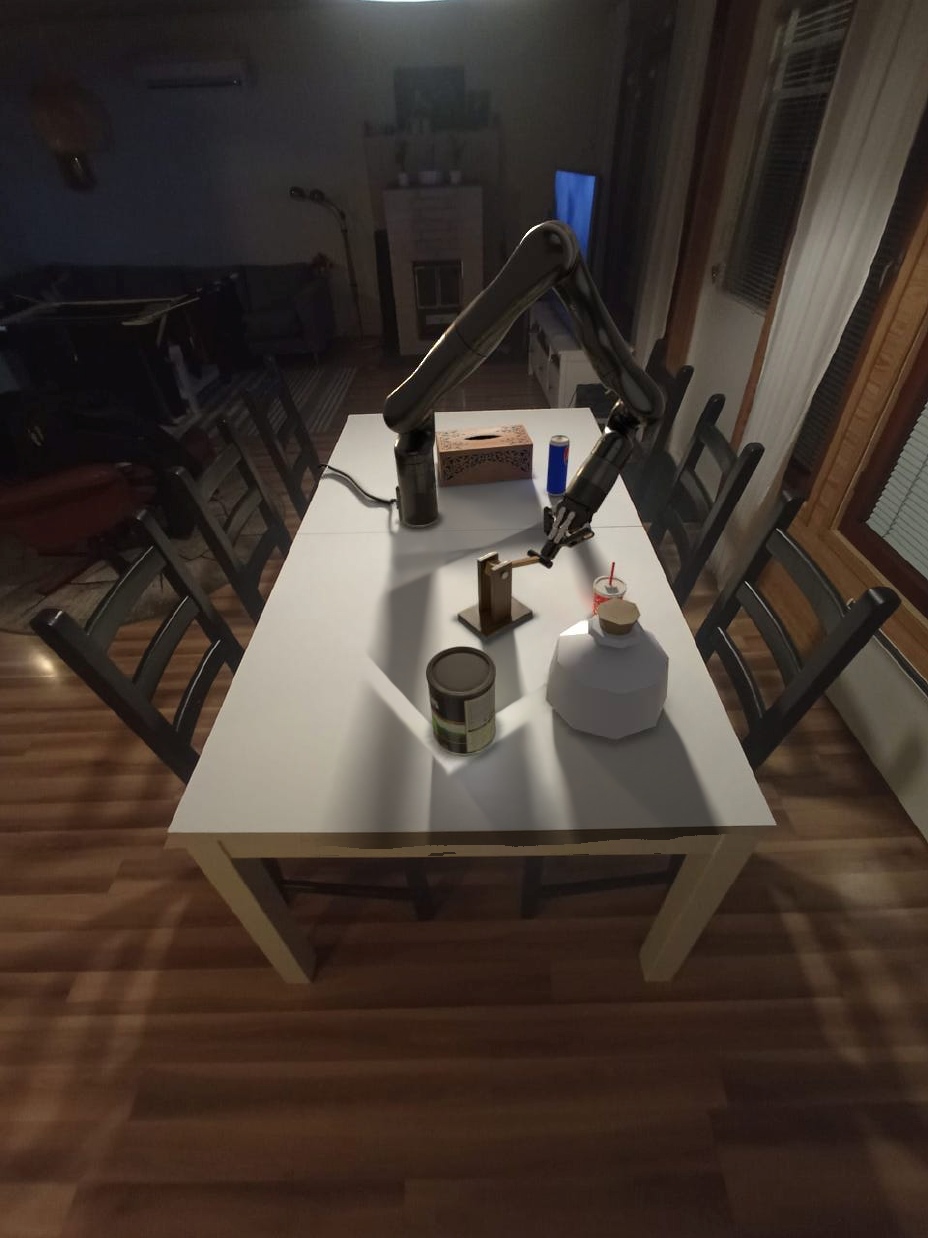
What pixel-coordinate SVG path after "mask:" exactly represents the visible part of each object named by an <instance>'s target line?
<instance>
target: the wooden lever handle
mask: <svg viewBox="0 0 928 1238" xmlns="http://www.w3.org/2000/svg"><path fill="white" fill-rule="evenodd" d="M540 554H541V553H539V552H537V551H536V550H534V549H533V548H531V549H528V550H527V552H526V555H527V557H525V558H520V559H515V560H511V561H512V569H516V568H521V567H525V566H531V565H536V564H540V565H541V566H542V567H545V568H546V569H548V570H550V569H552V567H553V566H554V562H553V560H551V561H550V560H548V559H547V558H545V557H544V556H542V555H540ZM501 563H503V561H502V560H500V559H499V558H498V559H496V560H491V561H487V562H486V567H485V572H484V573H486V574H487V575H488V576H490V577H491V568H493V567H495V566H497V565H499V564H501Z"/></svg>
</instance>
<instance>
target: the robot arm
mask: <svg viewBox="0 0 928 1238" xmlns="http://www.w3.org/2000/svg"><path fill="white" fill-rule="evenodd" d="M550 289H551V290H553V291H554V293H555V294H556V295H557V297H558V299H560V301H561V303H562V304H563V306H564V307H565V309H566V311H567V314H568V315H569V317H570V320H571V323H572V325H573V328H574V330H575V334H576V336H577V339H578V342H579V345H580V347H581V350H582V352H583V354H584V356H585V358H586V360H587V361H588V364H589V365H590V367H591V369H592V370H593V372H594V374H595V375H596V377H597V379H598V380H599V382H600V383H601V385H602V386H603V387H604V388H605V389H607V390H610V391H612V392H614V393H615V394H616V395H617V397H618V400H617V401H616V402H615V404H614V405H613V407H612V409H611V411H610V414H609V415H608V418H607V420H606V423H605V426H604V428H603V432H602V434H601V436H600V437H599V438H598V440H596V444H595V445H594V446H593V448H592V450H591V451H590V453H589V454H588V455H587V457H586V458H585V460H584V461H582V463H581V465H580V466H579V469H578V470H577V471H576V473H575V474H574V476H573V477H572V479H571V481H570V482H569V484H568V486H566V491H565V492H564V494H563V496H562V499H561V500H559V501H558V502H557V503H556V505H555V506H551V507H549V506H548V505H546V506H544V507H543V509H542V510H543V533H544V534H545V535H546V537H547V540H546V542H545V543H544V545H543V547H542V548H541V550H540V553H539V554H540V555H542V556H544V557H545V558H547V559H548V560H550V561H553V560H555V558H556V557H557V555H558V553H559V552H560V550H561V549H562V548H563V547H564V548H565V547H566V548H569V549H571V548H573V547H576V546H578V545H579V544H582V543H584V542H586V541H588V540H591V539H592V538H594V537H595V534H596V533H595V532H594V531H593V529H592V527H591V524H592V522H593V518H594V517H593V516H594V515H595V514H596V513H598V511H599V509H600V508H601V506H602V505H603V503H604V502H605V500H606V499H607V497H608V496H609V494H610V492H611V491H612V489H613V487H614V486H615V484H616V482H617V480H618V478H619V476H620V474H621V472H623V469H624V468H625V466H626V464H627V463H628V461H629V460H630V458H631V456H632V454H633V453H634V449H635V445H634V442H633V440H634V439H635V436H636V434H637V433H638V431H639V429H641V428H648V427H652V426H654V425H656V424H657V423H659V422H660V420H662V418H663V416H664V414H665V411H666V403H665V397H664V395H663V392H662V391H661V389H660V387H659V386H658V385H657V384H656V382H655V380H653V379H652V377H651V376H650V375H649V374H648V373H647V372H646V370H645V369H644V368H643V367H642V366H641V365H640V364H639V363H638V362H637V361H636V359H635V356H634V355H633V353H632V352H631V350H630V348H629V346H628V344H627V343H626V341H625V339H624V337H623V336H622V334H621V332H620V330H619V329H618V327H617V326H616V323H615V321H614V320H613V318H612V316H611V315H610V312H609V311H608V309H607V307H606V305H605V303H604V301H603V299H602V298H601V296H600V293H599V291H598V289H597V287H596V285H595V283H594V280H593V277H592V275H591V273H590V271H589V268H588V264H587V262H586V260H585V257H584V254H583V251H582V248H581V246H580V243H579V240H578V238H577V235H576V233H575V231H574V230H573V228H572V227H571V226H570V225H569V224H567V223H566V222H564V221H561V220H559V219H558V220H557V219H556V220H555V219H552V220H548V221H545V222H543V223H540V224H538V225H536V226H534V227H532V228H531V229H530V230H529V231H528V232H527V233H526V234H525V236H524V237H523V238H522V239H521V241H520V243H519V244H518V246H517V247H516V249H515V250H514V252H513V253H512V254H511V256H510V257H509V259H508V260H507V262H506V263H505V265H504V266H503V267H502V269H500V271H499V273H498V274H497V276H496V277H495V278H494V279H493V280H492V281H491V283H490V284H489V285H488V286H487V287H486V288H485V289H483V291H481V292H480V294H478V295H477V296H476V297H475V298H474V299H473V300H472V301H471V302H470V303H468V305H467V306H466V307H464V309H463V311H461V312H460V313H459V314H458V315H457V316H456V317H455V319H454V320H453V321H452V322H451V323H450V324H449V326H448V327H447V328H446V329H445V330H444V332H443V333H442V334H441V335H440V337H439V338H438V340H437V341H436V342H435V343H434V345H433V346H432V348H431V349H430V350H429V352H428V353H427V354H426V356H425V357H424V359H423V360H422V361H421V362H420V364H419V366H418V367H417V368H416V370H415V371H414V372H413V373H412V374H411V375H410V376H409V377H408V378H407V379H406V380H405V381H404V382H403V383H402V384H400V385H399V386H398V387H397V388H396V389H395V390H394V391H392V392H390V393H389V394H388V396H387V397H386V398H385V400H384V403H383V406H382V418H383V421H384V424H385V426H386V427H387V428H388V429H389V431H391V432H393V433H395V434H398V435H397V438H396V441H395V444H394V446H393V455H394V461H395V469H396V476H397V484H398V485H397V486H395V495H396V498H391V499H389V500H388V499H383V498H380V497H377V496H375V495H373V494H370V492H368V491H366V490H365V489H364V488H363V487H362V486H361V485H360V484H359V483H358V482H357V481H356V480H355V478H354V477H353V476H351V475H350V474H348V473H347V472H345V471H343V470H341V469H338V468H336V467H334V466H331V465H329V464H327V463H324V462H321V463H319V464H318V465H317V468H318V469H321V468H322V467H325V468H327V466H328V468H327V469H328V470H330V471H333V472H335V473H338V474H340V475H342V476H344V477H346V478H347V479H349V480H350V481H351V482H352V484H353V485H354V486H355V487H356V488H357V490H359V491H360V493H362V494H363V495H364V496H365V497H366V498H369V499H371V500H374V501H376V502H377V503H383V504H386V505H393V504H394V503H395V505H396V510H397V512H398V518H399V522H400V523H402V524H403V525H404V526H405V527H407V528H410V529H415V530H423V529H428V528H431V527H433V526H435V525H436V524H437V523H438V522H439V520H440V513H439V502H438V492H437V491H438V490H437V480H436V479H437V478H436V466H435V452H434V449H435V445H436V434H435V432H436V414H435V413H436V411H435V405H436V404H437V402H439V400H441V399H442V398H443V397H444V396H445V395H446V394H447V393H449V392H450V391H451V390H452V389H454V388H455V387H457V386H458V385H459V384H460V383H462V382H464V380H466V379H467V378H468V377H469V376H470V375H471V374H472V373H473V372H474V371H476V370H477V369H478V368H479V367H480V366H481V365H482V363H484V362H485V361H486V360H487V358H489V357H490V356H491V354H492V353H493V352H494V351H495V350H496V348H497V347H498V346H499V345H500V344H501V342H502V341H503V339H504V338H505V336H506V335H507V333H508V332H509V331H510V329H511V327H512V326H513V324H514V323H515V321H516V320H517V319H518V318H519V317H520V316H521V315H522V314H523V313H524V312H525V311H526V310H527V309H528V308H529V307H530V306H531V305H533V303H535V302H536V301H537V300H538V299H539V298H540V297H541V296H543V295H544V294H545V293H547V292H548V291H549V290H550Z"/></svg>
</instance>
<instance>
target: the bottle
mask: <svg viewBox="0 0 928 1238" xmlns="http://www.w3.org/2000/svg"><path fill="white" fill-rule="evenodd" d="M597 611H598V614H597V615H596V616H594V617H593V616H592V617H591V618H587V619H581V620H580V621H579V622H578V623H575V624H574V625H573V626H571V627H569V628H568V629H567V630H565V631H564V632H562V633H560V634H559V635H558V637H557V640H556V645H555V647H554V651H553V654H552V658H551V660H550V663H549V667H548V671H547V684H546V693H545V701H546V702H547V704H549V705H550V707H552V708H553V710H555V711H556V713H557V714H558V715H559V716H560V717H561V718H562V719H563V720H564V721H565V722H566V724H568V726H569V727H570V728H571V729H573V730H575V731H578V732H582V733H585V734H590V735H595V736H598V737H602V738H607V739H610V740H619V739H622V738H625V737H628V736H631V735H633V734H636V733H640V732H642V731H645V730H648V729H651V728H654V727H656V726H657V723H658V721H659V718H660V715H661V713H662V710H663V708H664V706H665V703H666V700H667V698H668V686H669V685H668V683H669V663H670V657H669V656H668V654H667V652H666V651H665V650H664V648H663V646H662V645H661V644H660V642H659V640H658V639H657V638H656V636H655V635H654V633H653V632H652V631H649V630H647V629H644V628H643V626H642V625H641V623H640V621H639V619H640V617H641V613H640V610H639V608H638V606H637V604H636V603H635V602H632V601H629V600H626V599H623V600H622V599H619V598H613V599H610V600H608V601H606V602H604V603H601V604H599V605H597Z"/></svg>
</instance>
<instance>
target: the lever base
mask: <svg viewBox="0 0 928 1238" xmlns="http://www.w3.org/2000/svg"><path fill="white" fill-rule="evenodd" d="M496 559H498V560H499V552H498V551H497V550H494V551H492V552H489V553H487V554H485V555H482V556H481V557H479V558H477V559H476V560H477V561H476V564H477V566H476V567H477V568H476V569H477V600H478V603H476V604H474V605H471V606H469V607H467V608H466V609H463V610H462V611H460V612H458V613H457V616H458V617H459V618H461V619H462V620H463V621H464V622H465V623H467V625H469V626H470V627H471V628H473V629H474V630H475V631H476V632H477V633H478V634H480V635H481V636H482V637H483V638H485V639H487V638H489V637H490V636H492V635H494V634H496V633H498V632H499V631H502V630H503V629H505V628H507V627H509V626H511V625H512V624H514V623H516V622H518V621H520V620H522V619H524V618H525V617H527V616H529V615H531V614H533V610H532V609H530V608H529V607H528V606H526V605H525V604H523V603H522V602H521V601H519V600H518V599H517V598H515V597H514V596H513V568H512V561H513V560H510V559H508V560H505V561H504V562H503V561H502V562H503V563H501V564H499V565H497V566H495V567H493V568H491V577H490V576H488V575H487V574H486V573H484V572H485V567H486V562H487V561H491V560H496Z"/></svg>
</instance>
